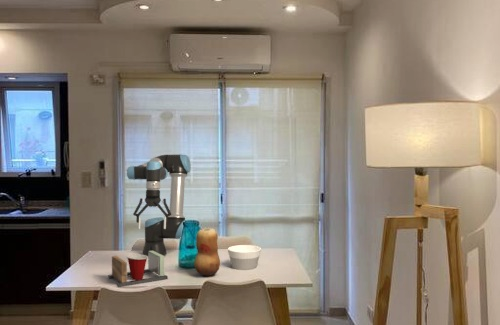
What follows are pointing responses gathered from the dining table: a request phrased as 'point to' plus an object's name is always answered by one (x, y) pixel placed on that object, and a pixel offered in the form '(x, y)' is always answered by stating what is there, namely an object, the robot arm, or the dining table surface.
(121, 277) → the vise bed
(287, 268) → the dining table surface
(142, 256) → the plastic cup
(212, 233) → the butternut squash
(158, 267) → the block
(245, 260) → the bowl
